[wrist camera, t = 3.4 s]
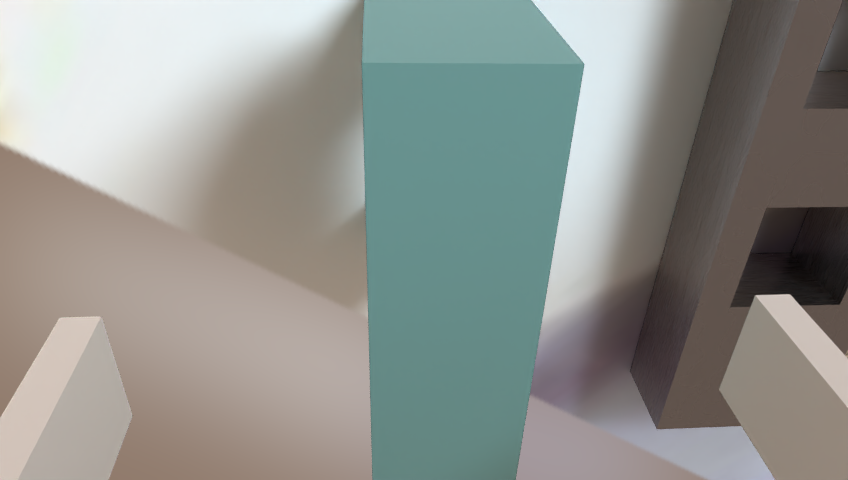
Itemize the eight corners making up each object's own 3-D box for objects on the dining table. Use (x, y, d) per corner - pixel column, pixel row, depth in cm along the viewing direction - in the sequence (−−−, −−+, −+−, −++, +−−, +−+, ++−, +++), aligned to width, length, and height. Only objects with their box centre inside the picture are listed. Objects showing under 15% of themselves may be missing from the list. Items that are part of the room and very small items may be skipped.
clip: (366, -64, 20) (362, 63, 10) (478, -62, 20) (584, 63, 10) (372, 256, 27) (373, 525, 17) (457, 255, 27) (508, 518, 17)
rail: (829, -347, 17) (925, -380, 14) (1077, -334, 18) (1217, -362, 15) (630, 371, 31) (656, 429, 28) (769, 367, 32) (809, 423, 29)
